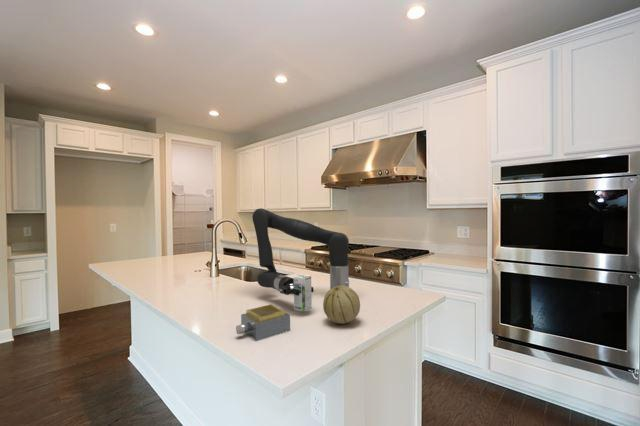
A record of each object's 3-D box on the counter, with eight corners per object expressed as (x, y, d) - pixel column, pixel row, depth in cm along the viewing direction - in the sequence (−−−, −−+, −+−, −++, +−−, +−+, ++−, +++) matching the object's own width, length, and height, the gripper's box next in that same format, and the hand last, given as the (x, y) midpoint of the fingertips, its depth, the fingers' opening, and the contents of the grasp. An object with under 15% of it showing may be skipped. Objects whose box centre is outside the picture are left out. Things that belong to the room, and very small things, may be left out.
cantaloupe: (364, 319, 125) (364, 282, 125) (353, 332, 112) (353, 291, 112) (331, 314, 131) (331, 279, 131) (317, 326, 118) (316, 287, 118)
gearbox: (273, 321, 123) (273, 303, 123) (290, 330, 114) (290, 310, 114) (231, 333, 112) (230, 312, 112) (245, 344, 103) (245, 322, 103)
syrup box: (293, 309, 131) (292, 276, 131) (302, 305, 136) (301, 273, 136) (304, 312, 128) (303, 277, 128) (312, 308, 133) (311, 275, 132)
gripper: (271, 278, 139) (291, 285, 126) (297, 274, 148) (318, 280, 135) (271, 295, 139) (292, 303, 126) (297, 289, 148) (319, 297, 135)
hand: (305, 291), depth 130 cm, fingers closed on syrup box, 6 cm apart
